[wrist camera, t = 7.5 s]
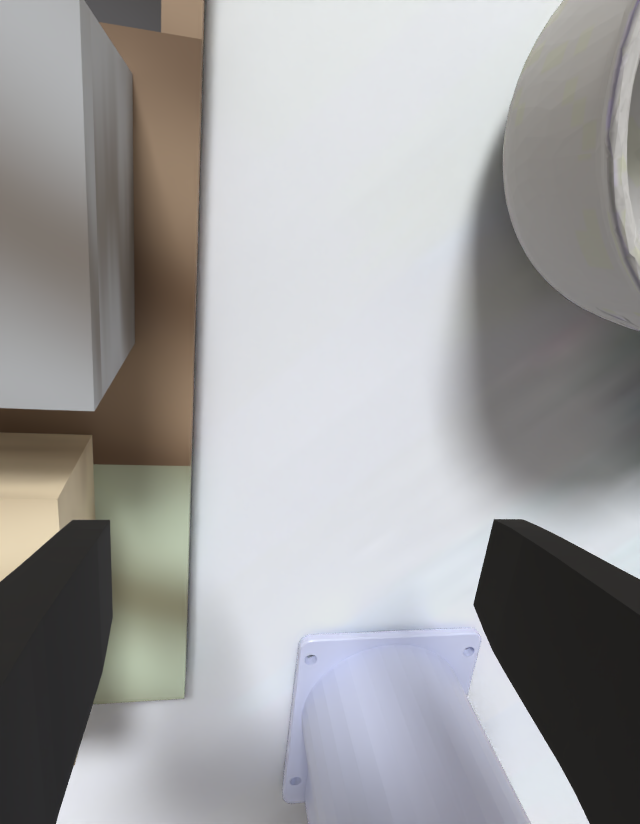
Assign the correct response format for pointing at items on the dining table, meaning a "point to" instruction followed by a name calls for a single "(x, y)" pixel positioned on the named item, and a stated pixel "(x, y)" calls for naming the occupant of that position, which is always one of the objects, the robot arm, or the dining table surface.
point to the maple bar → (41, 491)
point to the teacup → (580, 157)
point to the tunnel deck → (109, 287)
